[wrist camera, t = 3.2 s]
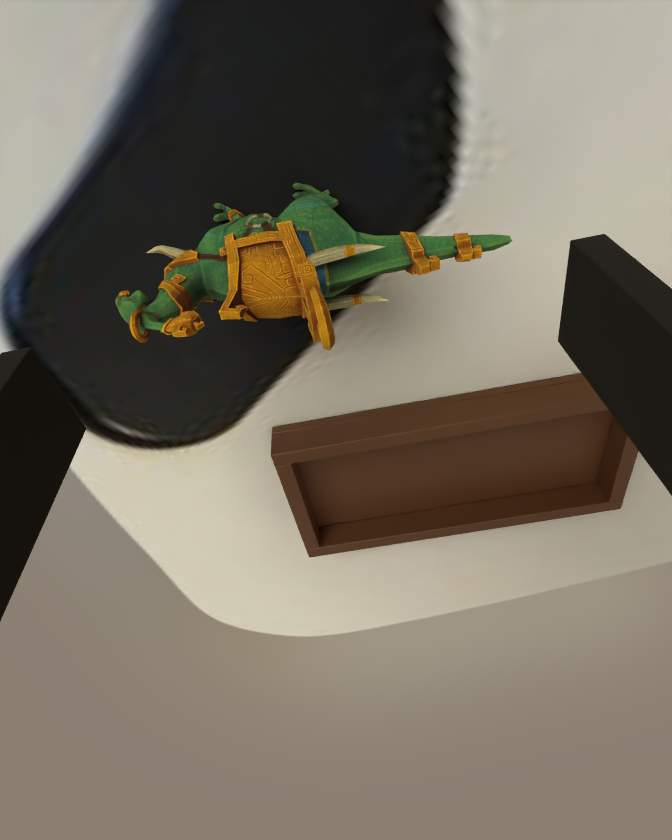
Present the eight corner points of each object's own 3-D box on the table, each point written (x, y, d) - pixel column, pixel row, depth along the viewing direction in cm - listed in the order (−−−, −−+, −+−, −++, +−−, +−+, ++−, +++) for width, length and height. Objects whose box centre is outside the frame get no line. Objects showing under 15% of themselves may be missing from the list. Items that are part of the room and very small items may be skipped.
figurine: (129, 204, 18) (46, 325, 12) (469, 140, 17) (565, 233, 11) (162, 284, 20) (105, 422, 14) (468, 228, 19) (549, 348, 13)
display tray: (271, 426, 25) (270, 455, 24) (635, 363, 24) (658, 389, 23) (308, 529, 31) (309, 558, 30) (604, 482, 30) (621, 509, 28)
